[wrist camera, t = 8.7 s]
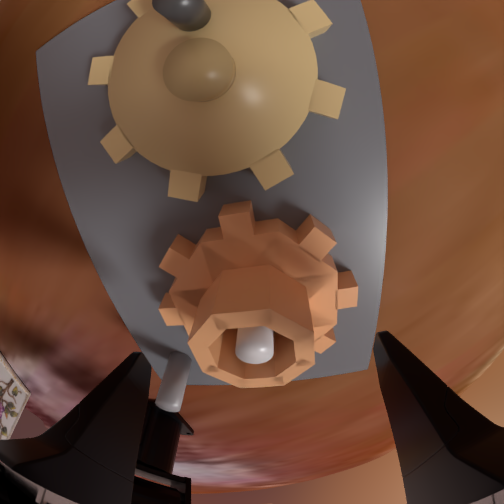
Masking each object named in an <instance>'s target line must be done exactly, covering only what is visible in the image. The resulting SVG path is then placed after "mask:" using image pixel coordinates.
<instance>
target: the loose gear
mask: <svg viewBox="0 0 504 504" xmlns="http://www.w3.org/2000/svg"><path fill="white" fill-rule="evenodd" d="M218 218H219V222H220V226H221V227H216V228H210V229H206V231H205V232H204V234H203V235H202V237H201V238H200V240H199V241H198V243H197V244H194V243H192V242H191V241H189V240H188V239H186V238H184V237H183V236H181V235H179V234H178V235H177V236H176V238H175V240H174V241H173V243H172V244H171V246H170V248H169V249H168V251H167V253H166V255H165V256H164V258H163V260H162V262H161V263H160V265H159V267H160V268H161V269H163V270H165V271H166V272H168V273H170V274H171V275H173V276H175V280H174V282H173V284H172V286H171V288H170V290H169V293H165V295H164V297H163V300H162V302H161V304H160V306H159V308H158V309H159V311H160V313H161V315H162V317H163V319H164V321H165V323H166V325H167V326H176V325H184V327H185V329H186V331H187V333H188V335H189V339H188V342H187V343H188V345H189V347H190V349H191V351H192V353H193V355H194V357H195V359H196V361H197V362H198V364H199V366H200V368H201V370H202V372H203V373H206V374H208V375H210V376H212V377H215V378H217V379H220V380H222V381H224V382H227V383H229V384H232V385H234V386H237V387H239V388H255V387H270V386H282V385H285V384H287V383H288V382H290V381H291V380H293V379H294V378H296V377H297V376H299V375H300V374H302V373H303V372H305V371H306V370H308V369H309V368H310V367H312V366H313V365H315V351H316V352H318V353H320V354H321V353H323V352H324V351H325V350H326V349H328V348H329V347H330V346H332V345H333V344H334V343H335V342H336V338H335V334H334V330H333V327H334V326H335V325H336V324H337V309H344V308H350V307H356V306H357V300H358V285H357V282H356V280H355V278H354V275H353V273H352V271H345V272H337V269H336V266H335V263H334V261H333V258H332V256H331V255H330V254H328V252H329V251H330V250H331V249H332V248H333V247H334V246H335V245H336V244H337V242H336V240H335V238H334V236H333V234H332V231H331V229H329V228H328V227H327V226H326V225H324V224H323V223H322V222H320V221H319V220H318V219H316V218H315V217H314V216H312V215H311V214H310V215H309V216H308V217H307V218H306V219H305V220H304V222H303V223H302V224H301V225H300V226H299V228H298V229H297V230H294V229H293V228H291V227H290V226H288V225H287V224H286V223H284V222H283V221H281V220H280V219H278V218H276V219H269V220H262V221H255V218H254V212H253V207H252V202H251V200H249V201H243V202H237V203H231V204H225V205H223V206H222V209H221V211H220V213H219V216H218ZM257 326H265V327H267V328H269V329H271V330H273V344H274V353H273V356H272V358H271V359H270V360H269V361H267V362H264V363H261V364H250V363H246V362H243V361H242V360H240V359H239V358H238V357H237V356H236V354H235V348H236V340H237V332H238V328H246V327H257Z"/></svg>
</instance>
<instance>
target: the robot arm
mask: <svg viewBox="0 0 504 504" xmlns="http://www.w3.org/2000/svg"><path fill="white" fill-rule="evenodd" d="M373 350H374V356H375V362H376V367H377V372H378V378H379V384H380V388H381V392H382V396H383V399H384V403H385V406H386V410H387V413H388V417H389V421H390V424H391V428H392V432H393V436H394V440H395V444H396V449H397V453H398V457H399V462H400V467H401V472H402V476H403V482H404V488H405V493H406V499H407V504H504V427H500V426H498V425H496V424H494V423H493V422H491V421H490V420H489V419H487V418H486V417H485V416H483V415H482V414H481V413H479V412H478V411H477V410H475V409H474V408H473V407H471V406H470V405H469V404H468V403H466V402H465V401H464V400H462V399H461V398H460V397H459V396H458V395H457V394H456V393H455V392H454V391H453V390H452V389H451V388H450V387H447V385H446V384H445V383H444V382H443V381H442V380H441V379H440V378H439V377H438V376H437V375H436V374H435V373H433V372H432V371H431V370H430V369H429V368H428V367H427V366H426V365H425V364H424V363H423V362H422V361H420V360H419V359H418V358H417V357H416V356H415V355H414V354H413V353H412V352H411V351H409V350H408V349H407V348H406V347H405V346H404V345H403V344H402V343H401V342H400V341H398V340H397V339H396V338H395V337H394V336H393V335H392V334H391V333H389V332H388V331H381V332H377V334H376V337H375V342H374V347H373ZM150 378H151V364H150V363H149V361H148V360H147V358H146V357H145V355H144V354H143V353H142V352H133V353H131V354H130V355H129V356H128V357H127V358H126V359H125V360H124V361H123V362H122V363H121V364H120V365H119V366H118V367H117V368H115V369H114V370H113V371H112V372H111V373H110V374H109V375H108V376H107V377H106V378H105V379H104V380H103V381H102V382H101V383H100V384H99V385H97V386H96V387H95V388H94V389H93V390H92V391H91V392H90V393H89V394H88V395H87V396H86V397H85V398H84V399H83V400H82V401H81V402H80V403H79V404H77V405H76V406H75V407H74V408H73V409H72V410H71V411H70V412H69V413H68V414H67V415H66V416H64V417H63V418H62V419H61V420H60V421H58V422H57V423H56V424H55V425H53V426H52V427H51V428H49V429H48V430H47V431H46V432H44V433H43V434H42V435H40V436H38V437H34V438H26V439H8V440H0V460H1V461H2V462H3V463H5V465H4V464H3V463H1V462H0V504H191V478H187V477H180V476H177V475H173V474H172V472H173V467H174V462H175V457H176V452H177V447H178V442H179V437H180V434H182V435H193V434H194V431H193V430H192V428H191V427H190V426H189V425H188V424H187V423H186V422H185V421H184V420H183V418H182V417H181V416H180V415H179V414H178V413H177V412H169V411H165V410H163V409H161V408H159V407H158V406H157V405H156V404H155V403H149V402H148V396H149V387H150ZM135 474H136V475H139V476H142V477H145V478H148V479H151V480H154V481H157V482H160V483H164V484H167V485H171V486H170V487H167V486H164V485H161V484H157V483H154V482H151V481H148V480H145V479H142V478H139V477H136V476H134V475H135Z"/></svg>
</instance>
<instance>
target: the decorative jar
mask: <svg viewBox="0 0 504 504" xmlns="http://www.w3.org/2000/svg"><path fill="white" fill-rule="evenodd" d="M30 395H31V393H30V391H29V390H28V389H27V388H26V387H25V385H24V384H23V383H22V382H21V380H20V379H19V378H18V376H17V375H16V374H15V372H14V371H13V369H12V368H11V367H10V365H9V364H8V362H7V361H6V359H5V358H4V357H3V355H2V354H1V352H0V440H8V439H10V436H11V434H12V433H13V430H14V428H15V426H16V424H17V422H18V419H19V417H20V415H21V413H22V411H23V409H24V407H25V405H26V403H27V401H28V399H29V396H30Z"/></svg>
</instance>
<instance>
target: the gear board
mask: <svg viewBox="0 0 504 504" xmlns="http://www.w3.org/2000/svg"><path fill="white" fill-rule="evenodd" d="M36 60H37V71H38V80H39V88H40V95H41V101H42V107H43V112H44V118H45V122H46V127H47V132H48V136H49V140H50V144H51V148H52V152H53V156H54V160H55V163H56V167H57V170H58V173H59V177H60V180H61V183H62V186H63V189H64V192H65V195H66V198H67V201H68V204H69V206H70V209H71V212H72V215H73V217H74V220H75V222H76V225H77V227H78V230H79V232H80V235H81V237H82V240H83V242H84V244H85V247H86V249H87V251H88V253H89V256H90V258H91V260H92V262H93V264H94V266H95V268H96V271H97V273H98V275H99V277H100V279H101V281H102V283H103V285H104V287H105V289H106V291H107V292H108V294H109V296H110V298H111V300H112V302H113V304H114V305H115V307H116V309H117V311H118V313H119V314H120V316H121V318H122V320H123V321H124V323H125V325H126V326H127V328H128V330H129V331H130V333H131V335H132V336H133V338H134V340H135V341H136V343H137V344H138V346H139V348H140V349H141V351H142V352H143V354H144V355H145V357H146V358H147V360H148V361H149V363H150V364H151V366H152V367H153V369H154V370H155V371H156V373H157V374H158V376H159V377H160V378H161V380H162V382H161V385H160V388H159V391H158V395H157V398H156V401H155V404H156V405H157V406H158V407H159V408H161V409H163V410H165V411H169V412H179V411H180V408H181V404H182V400H183V395H184V391H185V387H186V385H232V384H229V383H227V382H224V381H222V380H220V379H217V378H215V377H212V376H210V375H208V374H206V373H203V372H202V370H201V368H200V366H199V364H198V362H197V361H196V359H195V357H194V355H193V353H192V351H191V349H190V347H189V345H188V343H187V342H188V339H189V335H188V333H187V331H186V329H185V327H184V325H176V326H167V325H166V323H165V321H164V319H163V317H162V315H161V313H160V311H159V309H158V308H159V306H160V304H161V302H162V300H163V297H164V295H165V293H169V290H170V288H171V286H172V284H173V282H174V280H175V276H173V275H171V274H170V273H168V272H166V271H165V270H163V269H161V268H160V267H159V265H160V263H161V262H162V260H163V258H164V256H165V255H166V253H167V251H168V249H169V248H170V246H171V244H172V243H173V241H174V240H175V238H176V236H177V235H178V234H179V235H181V236H183V237H184V238H186V239H188V240H189V241H191V242H192V243H194V244H197V243H198V241H199V240H200V238H201V237H202V235H203V234H204V232H205V231H206V229H210V228H216V227H221V226H220V222H219V218H218V216H219V213H220V211H221V209H222V206H223V205H225V204H231V203H237V202H243V201H249V200H251V202H252V207H253V212H254V218H255V221H262V220H269V219H276V218H278V219H280V220H281V221H283V222H284V223H286V224H287V225H288V226H290V227H291V228H293V229H294V230H297V229H298V228H299V226H300V225H301V224H302V223H303V222H304V220H305V219H306V218H307V217H308V216H309V215H310V214H311V215H312V216H314V217H315V218H316V219H318V220H319V221H320V222H322V223H323V224H324V225H326V226H327V227H328V228H329V229H331V231H332V234H333V236H334V238H335V240H336V242H337V244H336V245H335V246H334V247H333V248H332V249H331V250H330V251H329V252H328V254H330V255H331V256H332V258H333V261H334V263H335V266H336V269H337V272H345V271H352V273H353V275H354V278H355V280H356V282H357V285H358V300H357V306H356V307H350V308H344V309H337V324H336V325H335V326H334V327H333V330H334V334H335V338H336V342H335V343H334V344H333V345H332V346H330V347H329V348H328V349H326V350H325V351H324V352H323V353H321V354H320V353H318V352H316V351H315V365H313V366H312V367H310V368H309V369H308V370H306V371H305V372H303V373H302V374H300V375H299V376H297V377H296V378H294V379H293V380H291V381H294V380H303V379H311V378H319V377H326V376H332V375H339V374H345V373H350V372H356V371H361V370H366V369H368V366H369V361H370V357H371V352H372V347H373V342H374V336H375V331H376V325H377V319H378V313H379V306H380V299H381V291H382V282H383V273H384V263H385V250H386V234H387V201H388V186H387V154H386V138H385V126H384V116H383V107H382V99H381V92H380V85H379V78H378V73H377V67H376V62H375V56H374V52H373V47H372V42H371V38H370V34H369V30H368V26H367V22H366V18H365V15H364V11H363V8H362V4H361V1H360V0H116V1H114V2H112V3H110V4H108V5H106V6H104V7H102V8H100V9H98V10H97V11H95V12H93V13H91V14H90V15H88V16H86V17H85V18H83V19H81V20H80V21H78V22H76V23H75V24H73V25H72V26H70V27H69V28H67V29H66V30H64V31H63V32H61V33H60V34H58V35H57V36H56V37H54V38H53V39H51V40H50V41H49V42H47V43H46V44H45V45H43V46H42V47H41V48H40V49H38V50H37V51H36ZM273 353H274V344H273V330H271V329H269V328H267V327H265V326H257V327H246V328H238V332H237V340H236V348H235V354H236V356H237V357H238V358H239V359H240V360H242V361H243V362H246V363H250V364H261V363H264V362H267V361H269V360H270V359H271V358H272V356H273Z"/></svg>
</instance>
